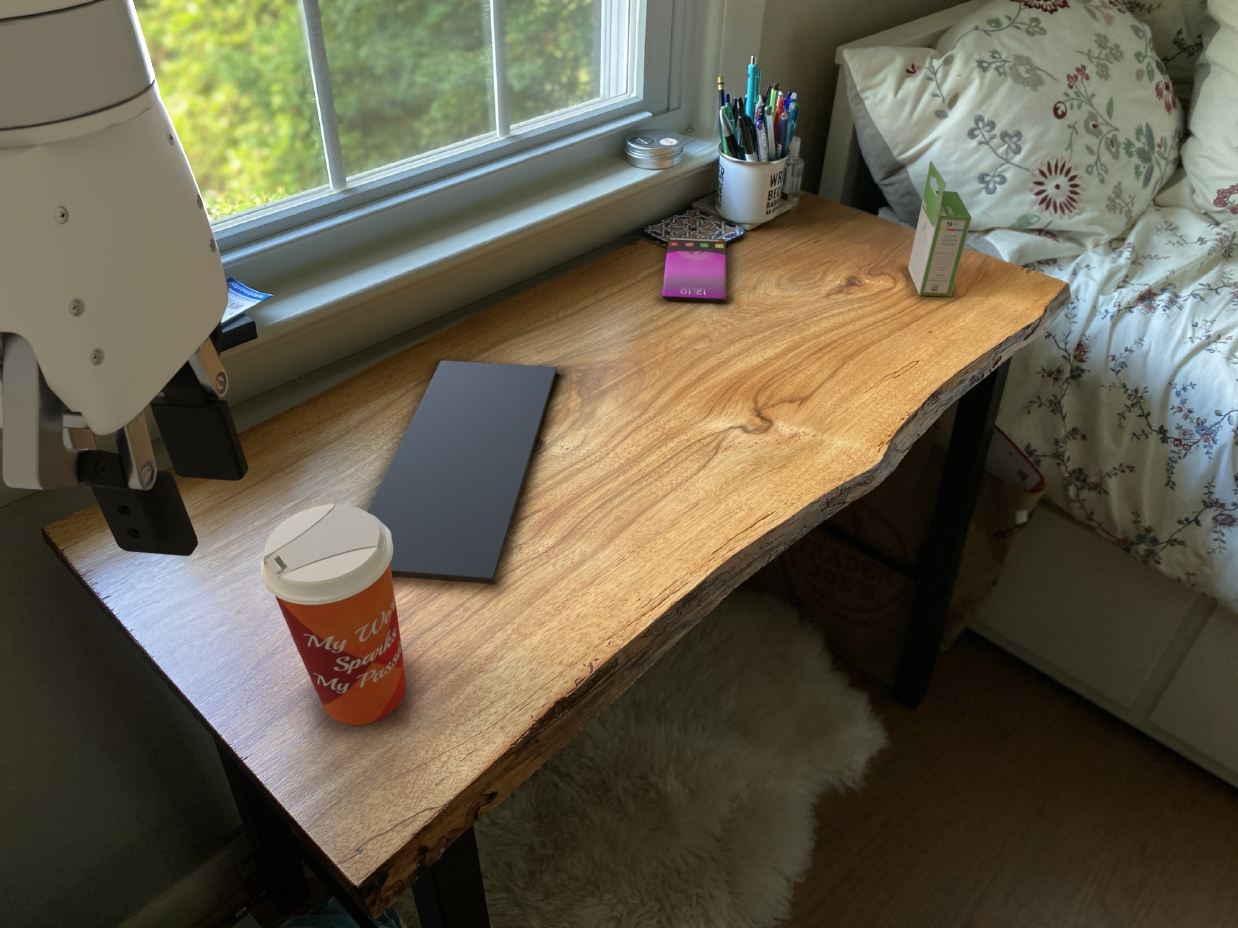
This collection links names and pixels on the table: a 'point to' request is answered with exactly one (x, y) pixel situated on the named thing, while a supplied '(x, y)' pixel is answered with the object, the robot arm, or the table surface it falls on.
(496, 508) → the mat
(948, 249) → the ink box
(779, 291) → the table surface
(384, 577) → the paper cup
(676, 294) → the smartphone
